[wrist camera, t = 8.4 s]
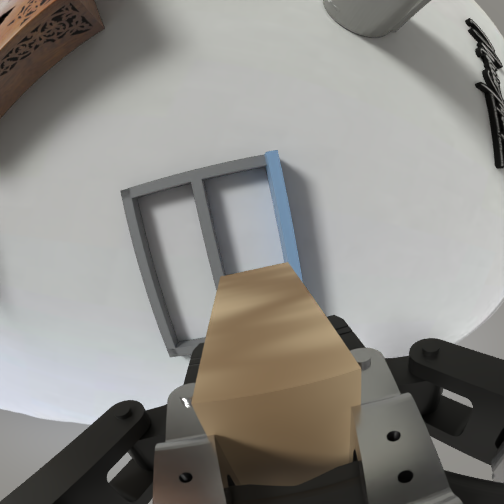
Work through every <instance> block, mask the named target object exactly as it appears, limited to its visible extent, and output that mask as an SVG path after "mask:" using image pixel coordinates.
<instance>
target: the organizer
mask: <svg viewBox="0 0 504 504" xmlns="http://www.w3.org/2000/svg"><path fill="white" fill-rule="evenodd" d="M261 167H266V172H267V177H268V182H269V186H270V191H271V196H272V201H273V206H274V211H275V216H276V221H277V226H278V231H279V236H280V241H281V246H282V252H283V257H284V262H285V263H286V262H288V263H289V264H290V266H291V267H292V268H293V270H294V271H295V273H296V274H297V275H298V277H299V278H300V280H301V281H302V283H303V280H302V274H301V268H300V262H299V256H298V250H297V245H296V239H295V234H294V228H293V223H292V218H291V213H290V207H289V202H288V197H287V192H286V187H285V183H284V178H283V173H282V168H281V164H280V159H279V154H278V150H274V151H269V152H266V153H265V154H264V155H259V156H254V157H249V158H244V159H239V160H234V161H230V162H225V163H220V164H216V165H212V166H208V167H203V168H199V169H195V170H191V171H187V172H183V173H180V174H176V175H172V176H169V177H165V178H161V179H158V180H154V181H151V182H148V183H144V184H141V185H138V186H135V187H131V188H128V189H125V190H122V191H121V196H122V200H123V205H124V210H125V214H126V219H127V223H128V227H129V231H130V235H131V239H132V243H133V247H134V251H135V254H136V258H137V262H138V265H139V268H140V272H141V275H142V279H143V282H144V285H145V288H146V292H147V295H148V298H149V301H150V304H151V307H152V310H153V313H154V316H155V318H156V321H157V324H158V327H159V330H160V332H161V335H162V338H163V340H164V343H165V346H166V348H167V351H168V353H169V356H170V357H176V356H183V355H191V354H192V352H193V350H194V349H195V348H196V347H197V346H198V344H199V343H204V342H205V339H206V337H205V338H199V339H193V340H186V341H180V342H178V340H177V337H176V334H175V331H174V328H173V326H172V323H171V320H170V317H169V314H168V311H167V308H166V305H165V302H164V298H163V295H162V292H161V289H160V285H159V282H158V279H157V275H156V272H155V268H154V265H153V261H152V258H151V254H150V250H149V246H148V243H147V239H146V235H145V231H144V226H143V222H142V218H141V214H140V209H139V205H138V200H137V198H138V197H142V196H145V195H149V194H152V193H156V192H159V191H163V190H166V189H170V188H174V187H178V186H181V185H185V184H189V183H191V185H192V189H193V194H194V199H195V203H196V208H197V212H198V217H199V221H200V225H201V230H202V234H203V238H204V242H205V246H206V250H207V255H208V259H209V263H210V267H211V271H212V275H213V279H214V282H215V286H216V290H217V288H218V284H219V280H220V277H221V276H225V272H224V267H223V263H222V259H221V255H220V251H219V246H218V242H217V238H216V233H215V229H214V225H213V220H212V216H211V211H210V207H209V202H208V198H207V193H206V189H205V184H204V180H206V179H210V178H214V177H218V176H223V175H227V174H232V173H237V172H241V171H246V170H251V169H256V168H261Z"/></svg>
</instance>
